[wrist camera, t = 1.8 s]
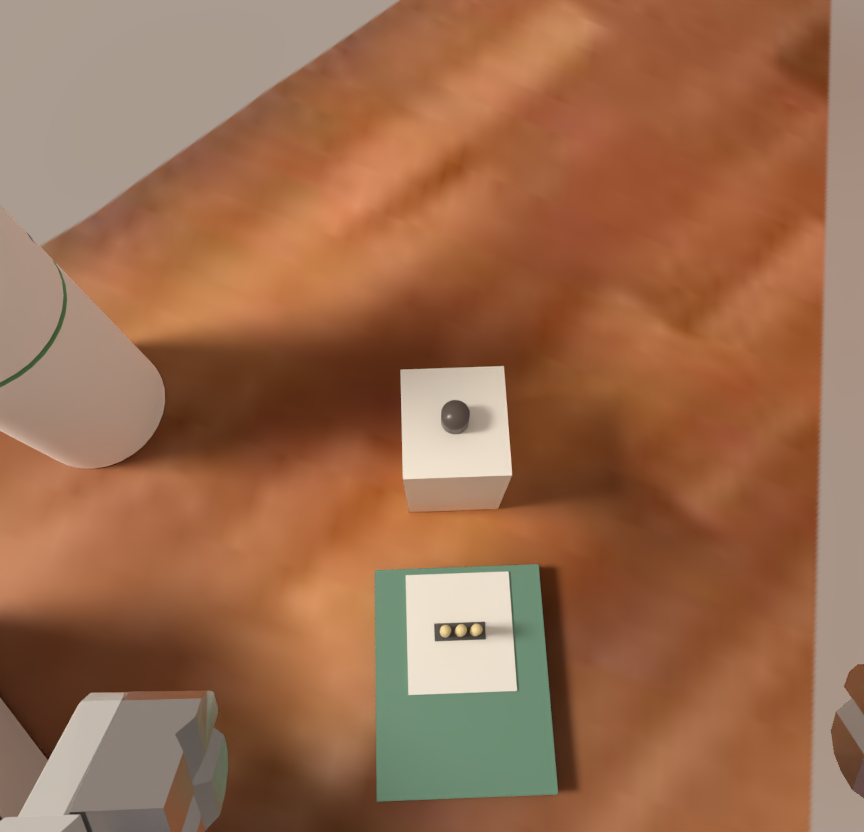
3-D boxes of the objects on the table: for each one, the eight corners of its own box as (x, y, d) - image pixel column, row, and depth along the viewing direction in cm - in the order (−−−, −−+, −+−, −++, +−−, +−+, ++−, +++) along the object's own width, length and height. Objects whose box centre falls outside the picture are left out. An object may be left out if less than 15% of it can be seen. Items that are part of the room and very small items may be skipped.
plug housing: (497, 509, 36) (514, 469, 28) (408, 512, 36) (401, 473, 28) (491, 417, 37) (506, 356, 30) (406, 420, 37) (399, 360, 30)
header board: (554, 790, 31) (567, 804, 28) (378, 797, 31) (372, 812, 28) (535, 566, 35) (545, 557, 32) (376, 572, 35) (370, 564, 32)
